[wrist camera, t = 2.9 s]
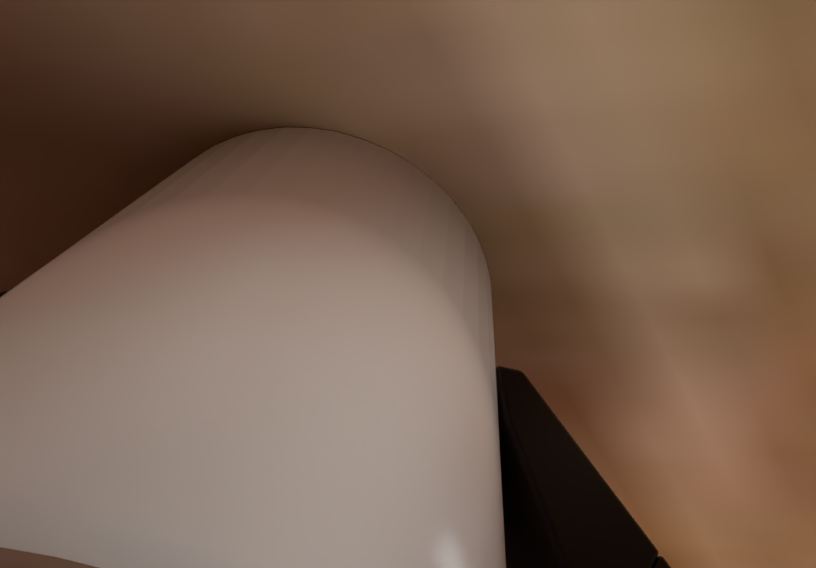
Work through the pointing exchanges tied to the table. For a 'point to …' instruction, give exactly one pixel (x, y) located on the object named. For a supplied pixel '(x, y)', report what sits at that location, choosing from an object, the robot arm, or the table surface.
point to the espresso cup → (258, 374)
